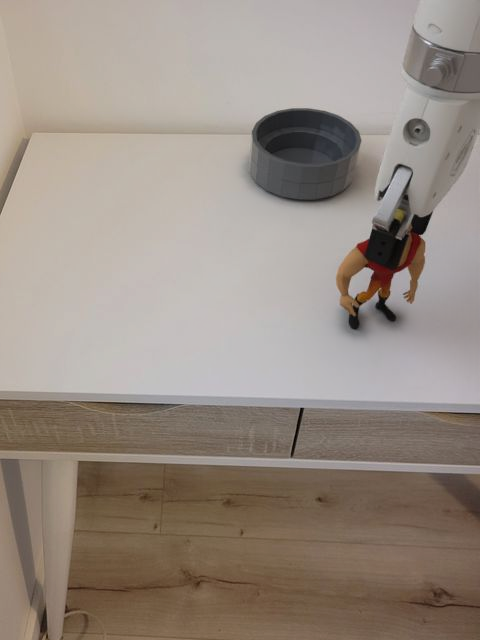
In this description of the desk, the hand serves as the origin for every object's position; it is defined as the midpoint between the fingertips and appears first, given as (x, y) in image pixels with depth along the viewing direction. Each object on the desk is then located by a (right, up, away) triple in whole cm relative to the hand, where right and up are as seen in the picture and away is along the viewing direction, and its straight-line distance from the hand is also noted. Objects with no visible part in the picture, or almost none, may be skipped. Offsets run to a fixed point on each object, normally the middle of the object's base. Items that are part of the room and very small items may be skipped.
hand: (395, 244), depth 59 cm
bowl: (-4, +15, +26) cm, 30 cm away
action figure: (0, -7, +8) cm, 11 cm away
